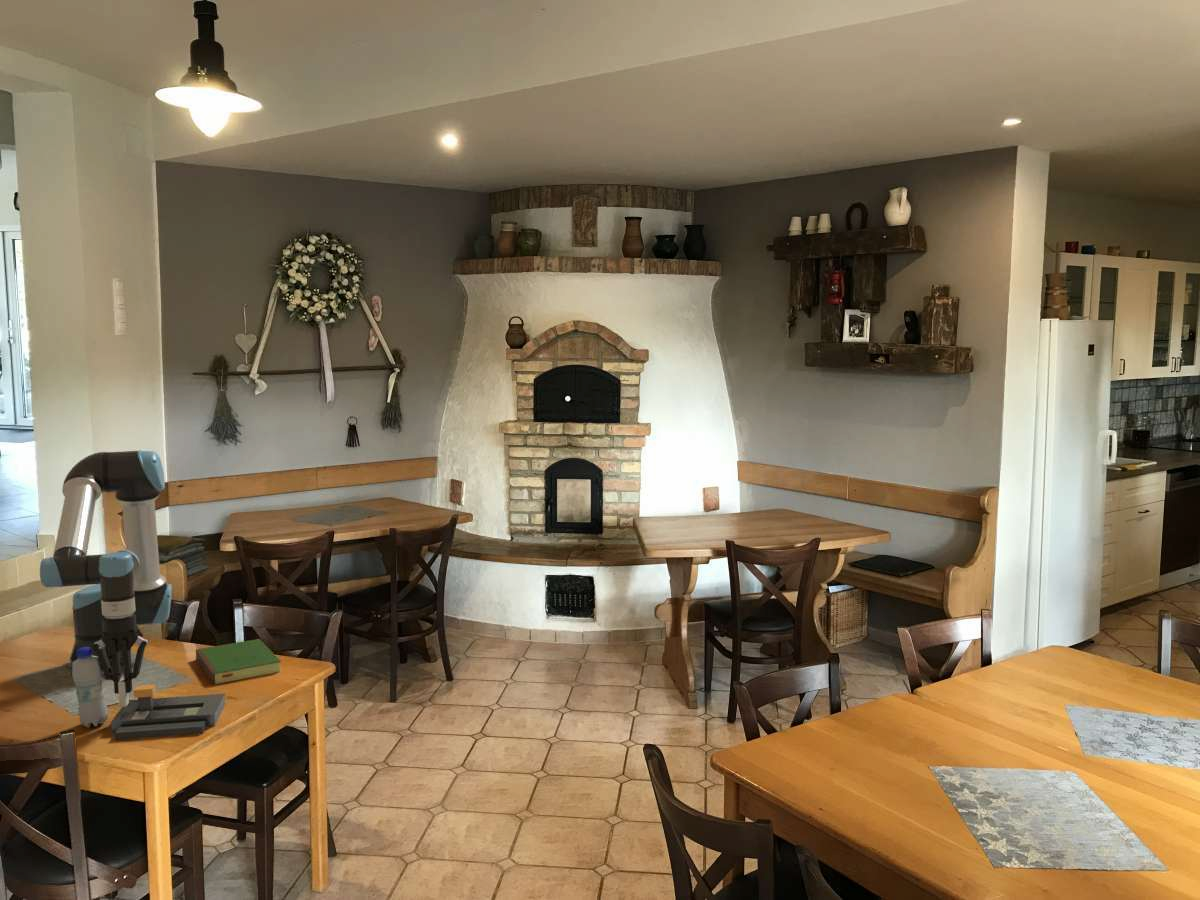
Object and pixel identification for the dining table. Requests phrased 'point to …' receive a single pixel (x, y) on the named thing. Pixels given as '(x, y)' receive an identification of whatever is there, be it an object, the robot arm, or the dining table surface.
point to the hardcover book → (237, 661)
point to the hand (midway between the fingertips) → (124, 704)
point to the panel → (172, 711)
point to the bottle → (89, 688)
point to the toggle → (145, 697)
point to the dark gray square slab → (160, 730)
